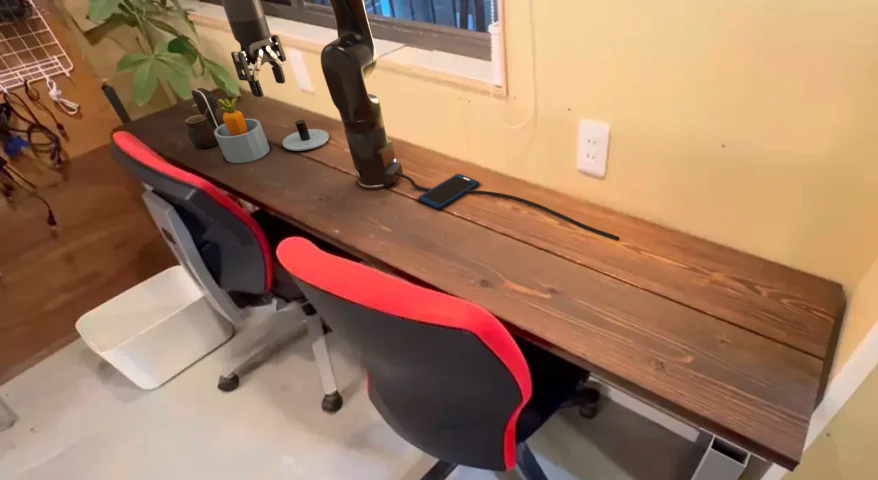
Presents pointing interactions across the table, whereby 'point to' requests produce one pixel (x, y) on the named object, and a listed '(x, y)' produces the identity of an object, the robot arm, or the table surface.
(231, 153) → the pot
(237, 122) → the carrot
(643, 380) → the table surface
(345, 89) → the robot arm
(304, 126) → the lid
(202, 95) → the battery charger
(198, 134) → the mate gourd
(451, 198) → the cell phone
